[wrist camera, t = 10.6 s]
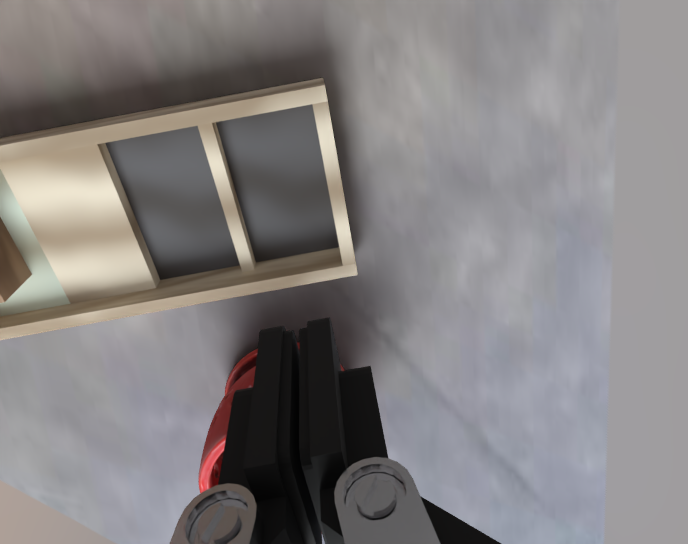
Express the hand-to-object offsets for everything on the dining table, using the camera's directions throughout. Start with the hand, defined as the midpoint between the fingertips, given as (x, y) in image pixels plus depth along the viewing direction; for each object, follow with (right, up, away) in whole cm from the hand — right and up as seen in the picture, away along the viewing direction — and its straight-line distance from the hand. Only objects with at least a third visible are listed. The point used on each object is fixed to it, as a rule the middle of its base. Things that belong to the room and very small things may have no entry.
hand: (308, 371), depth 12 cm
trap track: (-15, +7, +26) cm, 31 cm away
